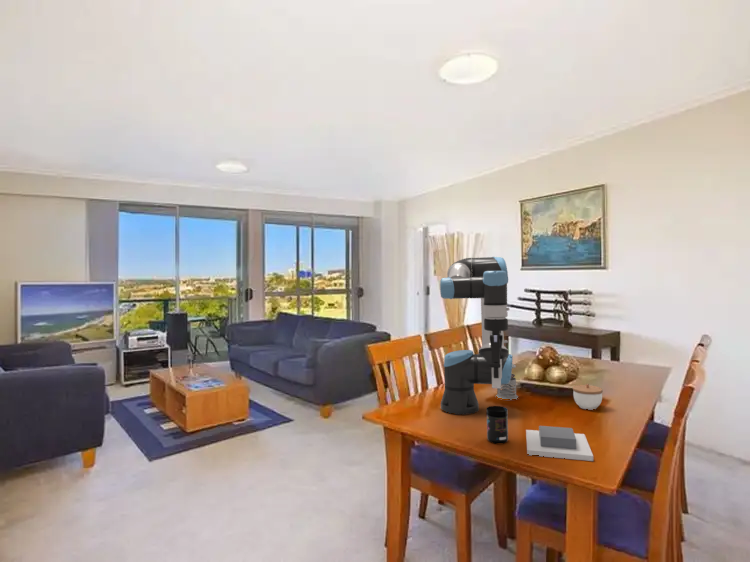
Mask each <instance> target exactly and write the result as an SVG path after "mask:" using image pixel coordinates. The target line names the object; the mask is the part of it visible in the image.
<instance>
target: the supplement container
mask: <svg viewBox="0 0 750 562" xmlns="http://www.w3.org/2000/svg"><path fill="white" fill-rule="evenodd" d="M508 412H509V411H508V408H507V407H505V406H500V405H490V406H487V407H486V414H485V415H486V439H487V441H489V442H490V443H492V442H493V443H492V444H496V443H503V444H506V443H507V442H508V441H509V425H508V424H509V422H508V421H509V419H508V418H509V417H508ZM505 442H506V443H505Z"/></svg>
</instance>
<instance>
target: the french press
mask: <svg viewBox="0 0 750 562" xmlns="http://www.w3.org/2000/svg"><path fill="white" fill-rule="evenodd" d="M508 343H509V340H507V339H504V344H508ZM515 368H517V365H516V364H514V363H512V369H515ZM496 390H497V391H496V392H497V394H496V395H495V397H496V396H497V397H498V398H502V399H510V400H509V401H513V400H512V399H516V400H518V399H519V398H518V397H519V396H518V395H517V378H516V374H514V373H511V379H510V382H509V383H508V384H501V388H496ZM498 398H497V399H498ZM517 398H518V399H517ZM502 399H501V400H502Z"/></svg>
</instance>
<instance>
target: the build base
mask: <svg viewBox="0 0 750 562" xmlns="http://www.w3.org/2000/svg"><path fill="white" fill-rule="evenodd" d="M525 438H526V455H527V454H529V455H528V456H532V455H539V456H538V457H543V456H544V458H553V457H554V458H556V459H564V458H565V459H567V460H575V461H576V460H577V461H589V462H594V454H593V451H592V450H591V446H590V444H589V442H588V440H587V437H586V434H584V433H575V432H574V429H573V428H572V427H562V426H547V425H539V426H538V430H537V429H536V430H535V429H525Z"/></svg>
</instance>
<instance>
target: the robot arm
mask: <svg viewBox="0 0 750 562" xmlns="http://www.w3.org/2000/svg"><path fill="white" fill-rule="evenodd" d="M508 273H509V272H508V268H507V263H506V260H505V259H504V258H503V257H502V256H501V257H497V256H490V257H489V256H488V257H466V258H462V259H459V260H457V261H455V262H454V263H453V262H452V264H450V266H449V267H448V270H447V274H446V275H447V277H442V278H440V281H439V282H440V283H439V285H440V286H439V287H440V288H439V290H440V291H439V292H440V297H441V299H444V300H445V299H449V300H453V299H454V300H455V299H456V300H457V299H480V312H481V313H480V316H481V342H482V343H481V344H482V346H481V347H480V348H479V349H478V353H477V354H476V353H474V351H473V350H471V349H460V350H454V351H450V352H448V353H446V354H445V355H444V358H443V359H444V361H443V367H444V368H443V369H444V370H443V371H444V377H443V378H444V391H443V393H442V397H441V398H442V399H441V401H440V410H441V409H442V410H444V411H446V412H445V413H447V412H449V413H448V414H451V413H455V414H454V415H461V414H462V415H471V413H472V414H475V412H476V413H477V412H479V410H480V407H479V405H480V404H479V401H478V398H477V395H476V391H475V385H491V388H492V389H497V388H501V387H502V386H501V384H508V383H509V382H510V379H511V374H512V373H513V372H512V369H513V368H512V364H513V358H514V357H513V354H509V349H508V348H507V346H506V345H505V343H504V340H505V338H504V337H505V335H504V332H505V331H508V329H509V320H508V312H509V311H510V307H508V283H509V274H508ZM442 410H441V411H442ZM444 411H443V412H444Z"/></svg>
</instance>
